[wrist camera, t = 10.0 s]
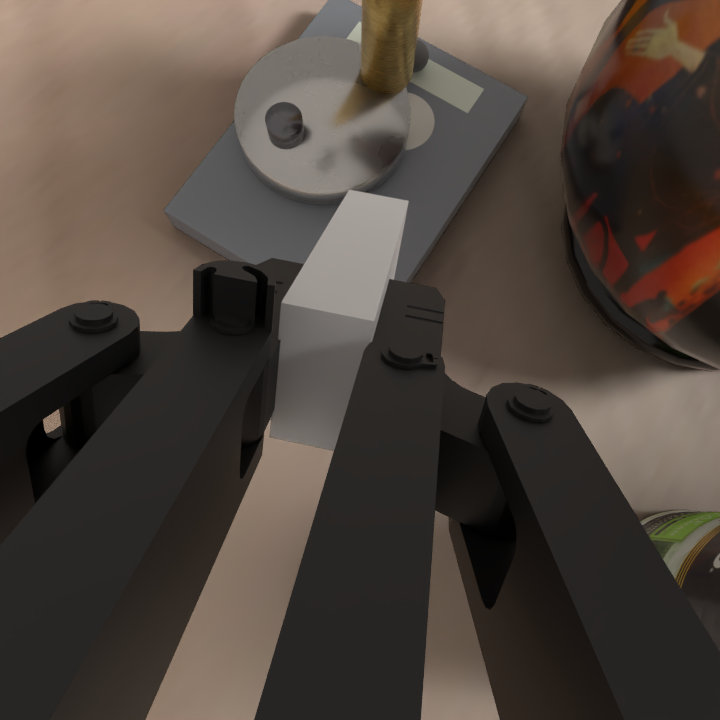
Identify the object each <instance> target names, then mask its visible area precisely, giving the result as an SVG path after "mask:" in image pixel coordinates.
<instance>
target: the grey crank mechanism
mask: <svg viewBox="0 0 720 720" xmlns="http://www.w3.org/2000/svg"><path fill="white" fill-rule="evenodd" d="M361 22H362V7H361V6H359V5H357V4H355V3H353V2H351V1H350V0H328V1H327V3H326V4H325V5H324V7H323V8H322V9H321V10H320V12H319V13H318V14H317V16H316V17H315V18H314V19H313V21H312V22H311V23H310V24H309V26H308V27H307V28H306V30H305V31H304V32H303V33H302V35H301V36H300V37H299V38H298V39H303V38H308V37H317V36H331V37H339V38H344V39H348V40H352V41H355V42H358V43H360V44H361ZM406 88H407V92H408V95H409V98H410V105H411V121H410V128H409V135H408V141H407V146H406V149H405V153H404V155H403V157H402V160H401V162H400V164H399V165H398V167H397V168H396V170H395V171H394V172H393V174H392V175H391V176H390V177H389V178H388V179H387V180H386V181H385V182H384V183H383V184H382V185H380V186H379V187H378V188H376V189H375V190H373V191H372V192H370V194H375V195H380V196H385V197H391V198H396V199H401V200H407V201H409V202H408V207H407V213H406V218H405V223H404V229H403V234H402V239H401V245H400V250H399V255H398V261H397V266H396V271H395V276H394V280H398V281H403V282H408V283H411V282H412V280H413V279H414V277H415V276H416V274H417V272H418V271H419V269H420V268H421V266H422V265H423V263H424V262H425V260H426V259H427V257H428V256H429V254H430V253H431V251H432V250H433V248H434V247H435V245H436V244H437V242H438V241H439V239H440V237H441V236H442V234H443V233H444V231H445V230H446V228H447V227H448V225H449V224H450V222H451V221H452V219H453V218H454V216H455V215H456V213H457V212H458V210H459V209H460V207H461V205H462V204H463V202H464V201H465V199H466V198H467V196H468V195H469V193H470V192H471V190H472V189H473V187H474V186H475V184H476V183H477V181H478V180H479V178H480V177H481V175H482V173H483V172H484V170H485V169H486V167H487V166H488V164H489V163H490V161H491V160H492V158H493V157H494V155H495V154H496V152H497V151H498V149H499V148H500V146H501V145H502V143H503V141H504V140H505V138H506V137H507V135H508V134H509V132H510V131H511V129H512V128H513V126H514V125H515V123H516V122H517V120H518V119H519V117H520V115H521V112H522V110H523V108H524V105H525V103H526V100H527V98H528V96H526V95H524V94H522V93H521V92H519V91H517V90H515V89H513V88H511V87H509V86H508V85H506V84H504V83H502V82H500V81H498V80H496V79H495V78H493V77H491V76H489V75H487V74H485V73H483V72H482V71H480V70H478V69H476V68H474V67H472V66H470V65H469V64H467V63H465V62H463V61H461V60H459V59H457V58H456V57H454V56H452V55H450V54H448V53H446V52H444V51H443V50H441V49H439V48H437V47H435V46H433V45H431V44H430V43H428V42H426V41H424V40H422V39H420V38H418V37H417V45H416V52H415V60H414V67H413V75H412V79H411V81H410V83H409V84H408V85H407V86H406ZM340 204H341V203H340ZM340 204H331V205H314V204H308V203H302V202H299V201H295V200H292V199H289V198H287V197H284V196H282V195H280V194H279V193H277V192H275V191H273V190H272V189H271V188H269V187H268V186H267V185H265V184H264V183H263V182H262V181H261V180H260V179H259V178H258V177H257V176H256V175H255V173H254V172H253V171H252V169H251V168H250V166H249V164H248V163H247V161H246V159H245V156H244V154H243V151H242V148H241V145H240V142H239V138H238V135H237V131H236V127H235V120H234V121H233V123H232V124H231V125H230V126H229V128H228V129H227V130H226V132H225V133H224V134H223V135H222V137H221V138H220V139H219V140H218V142H217V143H216V144H215V146H214V147H213V148H212V149H211V151H210V152H209V153H208V154H207V156H206V157H205V158H204V160H203V161H202V162H201V163H200V165H199V166H198V167H197V168H196V170H195V171H194V172H193V174H192V175H191V176H190V177H189V179H188V180H187V181H186V182H185V184H184V185H183V186H182V188H181V189H180V190H179V191H178V193H177V194H176V195H175V197H174V198H173V199H172V200H171V202H170V203H169V204H168V205H167V207H166V208H165V209H164V212H165V213H166V215H167V217H168V218H169V220H170V221H171V223H172V225H173V226H174V227H176V228H177V229H179V230H181V231H182V232H184V233H186V234H187V235H189V236H190V237H192V238H194V239H195V240H197V241H199V242H200V243H202V244H203V245H205V246H207V247H208V248H210V249H212V250H213V251H215V252H216V253H218V254H220V255H221V256H223V257H225V258H226V259H228V260H229V261H240V262H247V263H251V264H254V265H257V264H259V263H262V262H264V261H266V260H268V259H271V258H276V259H281V260H286V261H291V262H296V263H301V264H305V262H306V261H307V259H308V257H309V256H310V254H311V252H312V251H313V249H314V247H315V246H316V244H317V242H318V241H319V239H320V237H321V236H322V234H323V232H324V231H325V229H326V227H327V226H328V224H329V222H330V221H331V219H332V217H333V216H334V214H335V212H336V211H337V209H338V207H339V206H340Z"/></svg>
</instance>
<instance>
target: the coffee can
mask: <svg viewBox="0 0 720 720" xmlns="http://www.w3.org/2000/svg"><path fill="white" fill-rule="evenodd" d="M640 523H641V524H642V526H643V528H644V529H645V531H646V532H647V534H648V536H649V537H650V539H651V541H652V542H653V544H654V545H655V547H656V549H657V550H658V552H659V554H660V555H661V557H662V558H663V560H664V562H665V563H666V565H667V567H668V568H669V570H670V571H671V573H672V575H673V576H674V578H675V580H676V581H677V583H678V584H679V586H680V588H681V589H682V591H683V593H684V594H685V596H686V598H687V599H688V601H689V602H690V604H691V606H692V607H693V609H694V611H695V612H696V614H697V615H698V617H699V619H700V620H701V622H702V624H703V625H704V627H705V628H706V630H707V632H708V633H709V635H710V637H711V638H712V640H713V641H714V643H715V645H716V646H717V648H718V650H719V651H720V512H700V511H690V510H676V511H667V512H661V513H658V514H655V515H652V516H650V517H648V518H645V519H644V520H642V521H640Z"/></svg>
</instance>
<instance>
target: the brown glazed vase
mask: <svg viewBox="0 0 720 720" xmlns="http://www.w3.org/2000/svg"><path fill="white" fill-rule="evenodd" d="M561 176H562V182H563V188H564V194H565V203H564V212H563V220H562V234H563V241H564V247H565V253H566V259H567V263H568V265H569V268H570V270H571V272H572V274H573V276H574V279H575V281H576V283H577V285H578V287H579V290H580V292H581V294H582V296H583V297H584V298H585V299H586V301H587V302H588V303H589V304H590V305H591V307H592V308H593V309H594V310H595V312H596V313H597V314H598V315H599V317H600V318H601V319H602V320H603V322H604V323H605V324H606V325H607V326H609V327H610V328H611V329H613V330H614V331H615V332H616V333H618V334H619V335H620V336H622V337H623V338H624V339H626V340H627V341H628V342H629V343H631V344H632V345H633V346H635V347H636V348H638V349H640V350H642V351H644V352H647V353H649V354H651V355H653V356H655V357H658V358H660V359H662V360H664V361H666V362H669V363H671V364H674V365H680V366H685V367H691V368H696V369H702V370H707V371H719V370H720V0H621V2H620V3H619V4H618V5H617V7H616V8H615V9H614V10H613V12H612V13H611V14H610V16H609V17H608V18H607V19H606V21H605V22H604V25H603V27H602V29H601V31H600V33H599V35H598V37H597V39H596V42H595V44H594V46H593V48H592V50H591V52H590V54H589V56H588V58H587V61H586V63H585V65H584V67H583V69H582V71H581V74H580V76H579V78H578V80H577V83H576V85H575V87H574V89H573V92H572V94H571V96H570V98H569V101H568V103H567V107H566V115H565V123H564V131H563V139H562V147H561Z"/></svg>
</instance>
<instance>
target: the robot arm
mask: <svg viewBox="0 0 720 720" xmlns="http://www.w3.org/2000/svg"><path fill="white" fill-rule="evenodd" d="M408 202H409V201H407V200H401V199H396V198H391V197H385V196H380V195H375V194H370V193H364V192H359V191H354V190H349V191H348V192H347V194H346V196H345V197H344V199H343V201H342V202H341V204H340V206H339V207H338V209H337V211H336V212H335V214H334V216H333V217H332V219H331V221H330V222H329V224H328V226H327V227H326V229H325V231H324V232H323V234H322V236H321V237H320V239H319V241H318V242H317V244H316V246H315V247H314V249H313V251H312V252H311V254H310V256H309V257H308V259H307V261H306V262H305V264H301V263H296V262H291V261H286V260H281V259H276V258H271V259H268V260H266V261H264V262H262V263H259V264H257V265H254V264H251V263H247V262H240V261H215V262H210V263H206V264H202V265H201V266H199V267H197V268H196V269H194V270H193V317H192V318H191V319H190V320H189V322H188V323H187V324H186V325H185V326H184V328H183V329H182V330H181V331H178V332H150V331H140V323H139V317H138V316H137V314H136V313H135V311H133V310H132V309H130V308H128V307H126V306H124V305H120V304H116V303H111V302H109V301H101V302H99V301H88V302H84V303H76V304H73V305H70V306H67V307H64V308H61V309H59V310H57V311H55V312H53V313H51V314H49V315H47V316H45V317H43V318H41V319H38V320H36V321H34V322H32V323H30V324H28V325H26V326H24V327H22V328H20V329H18V330H16V331H14V332H12V333H10V334H8V335H6V336H4V337H2V338H0V720H145V719H146V717H147V715H148V712H149V710H150V708H151V705H152V703H153V701H154V699H155V696H156V694H157V692H158V690H159V687H160V685H161V683H162V681H163V678H164V676H165V674H166V671H167V669H168V667H169V665H170V662H171V660H172V658H173V656H174V653H175V651H176V649H177V646H178V644H179V642H180V640H181V637H182V635H183V633H184V631H185V628H186V626H187V624H188V622H189V619H190V617H191V615H192V612H193V610H194V608H195V606H196V603H197V601H198V599H199V597H200V594H201V592H202V590H203V588H204V585H205V583H206V581H207V578H208V576H209V574H210V572H211V569H212V567H213V565H214V563H215V560H216V558H217V556H218V553H219V551H220V549H221V547H222V544H223V542H224V540H225V538H226V535H227V533H228V531H229V529H230V526H231V524H232V522H233V519H234V517H235V515H236V513H237V510H238V508H239V506H240V504H241V501H242V499H243V497H244V495H245V492H246V490H247V488H248V485H249V483H250V481H251V479H252V476H253V474H254V472H255V470H256V467H257V465H258V463H259V460H260V458H261V456H262V450H263V439H264V431H265V429H266V426H267V424H268V422H269V420H270V418H271V426H270V437H271V438H276V439H280V440H285V441H290V442H295V443H299V444H304V445H309V446H314V447H318V448H323V449H328V450H333V451H334V453H333V456H332V460H331V463H330V467H329V470H328V473H327V477H326V480H325V483H324V487H323V490H322V493H321V497H320V500H319V504H318V507H317V510H316V514H315V517H314V520H313V524H312V527H311V530H310V534H309V537H308V541H307V544H306V547H305V551H304V554H303V557H302V561H301V564H300V568H299V571H298V574H297V578H296V581H295V584H294V588H293V591H292V594H291V598H290V601H289V605H288V608H287V611H286V615H285V618H284V621H283V625H282V628H281V631H280V635H279V638H278V642H277V645H276V648H275V652H274V655H273V658H272V662H271V665H270V669H269V672H268V675H267V679H266V682H265V685H264V689H263V692H262V695H261V699H260V702H259V706H258V709H257V712H256V716H255V719H254V720H421V707H422V692H423V678H424V663H425V649H426V634H427V619H428V605H429V590H430V576H431V561H432V546H433V532H434V517H435V510H436V511H438V512H440V513H442V514H444V515H446V516H448V517H449V532H450V536H451V539H452V543H453V547H454V551H455V554H456V558H457V562H458V565H459V569H460V573H461V577H462V580H463V584H464V588H465V592H466V595H467V599H468V603H469V606H470V610H471V614H472V618H473V621H474V625H475V629H476V632H477V636H478V640H479V644H480V647H481V651H482V655H483V658H484V662H485V666H486V670H487V673H488V677H489V681H490V684H491V688H492V692H493V696H494V699H495V703H496V707H497V711H498V714H499V718H500V720H720V651H719V650H718V648H717V646H716V645H715V643H714V641H713V640H712V638H711V637H710V635H709V633H708V632H707V630H706V628H705V627H704V625H703V624H702V622H701V620H700V619H699V617H698V615H697V614H696V612H695V611H694V609H693V607H692V606H691V604H690V602H689V601H688V599H687V598H686V596H685V594H684V593H683V591H682V589H681V588H680V586H679V584H678V583H677V581H676V580H675V578H674V576H673V575H672V573H671V571H670V570H669V568H668V567H667V565H666V563H665V562H664V560H663V558H662V557H661V555H660V554H659V552H658V550H657V549H656V547H655V545H654V544H653V542H652V541H651V539H650V537H649V536H648V534H647V532H646V531H645V529H644V528H643V526H642V524H641V523H640V521H639V519H638V518H637V516H636V514H635V513H634V511H633V510H632V508H631V506H630V505H629V503H628V501H627V500H626V498H625V497H624V495H623V493H622V492H621V490H620V488H619V487H618V485H617V484H616V482H615V480H614V479H613V477H612V475H611V474H610V472H609V471H608V469H607V467H606V466H605V464H604V462H603V461H602V459H601V458H600V456H599V454H598V453H597V451H596V449H595V448H594V446H593V444H592V443H591V441H590V440H589V438H588V436H587V435H586V433H585V431H584V430H583V428H582V427H581V425H580V423H579V422H578V420H577V418H576V417H575V415H574V414H573V412H572V410H571V409H570V408H569V407H568V406H567V405H566V404H565V403H564V401H563V400H561V399H560V398H558V397H557V396H555V395H553V394H552V393H550V392H549V391H547V390H545V389H543V388H538V386H534V385H531V384H522V383H502V384H499V385H497V386H494V387H492V388H491V390H490V391H489V392H488V394H487V395H486V397H483V396H481V395H478V394H476V393H473V392H471V391H469V390H467V389H465V388H463V387H461V386H460V385H458V384H457V383H455V382H454V381H452V380H451V379H450V378H449V377H448V376H447V375H446V374H445V372H444V371H445V365H444V362H443V358H442V357H441V346H442V333H443V320H444V306H445V300H444V298H443V297H442V296H441V294H440V293H439V291H438V290H437V289H436V288H434V287H428V286H423V285H418V284H413V283H408V282H403V281H398V280H394V276H395V271H396V266H397V261H398V255H399V250H400V245H401V239H402V234H403V229H404V223H405V218H406V213H407V207H408ZM58 409H59V413H60V420H61V426H59V427H58V428H56V429H55V430H54V431H51V432H49V433H47V434H46V432H45V431H44V425H43V419H44V418H46V417H47V416H49V415H50V414H52V413H53V412H55V411H56V410H58Z"/></svg>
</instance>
